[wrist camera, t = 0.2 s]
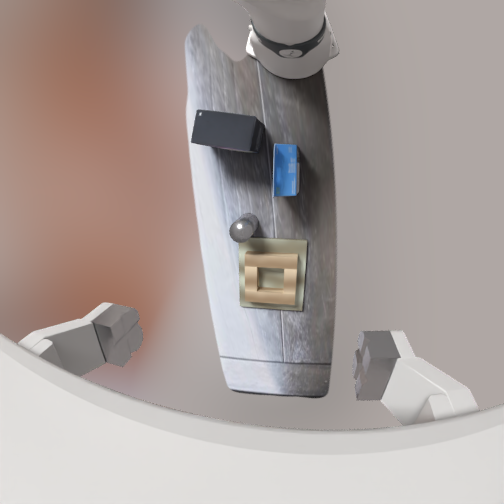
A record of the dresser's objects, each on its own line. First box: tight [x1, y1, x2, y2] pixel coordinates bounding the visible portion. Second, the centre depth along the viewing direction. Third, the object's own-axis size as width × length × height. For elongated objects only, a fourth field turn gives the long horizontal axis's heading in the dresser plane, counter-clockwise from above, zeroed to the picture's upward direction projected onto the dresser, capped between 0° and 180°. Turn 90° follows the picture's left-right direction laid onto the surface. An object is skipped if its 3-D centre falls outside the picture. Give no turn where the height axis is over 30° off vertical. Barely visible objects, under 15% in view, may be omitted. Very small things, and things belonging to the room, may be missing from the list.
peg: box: [229, 213, 259, 243], centre depth 53 cm, size 4×4×8 cm
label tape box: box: [273, 143, 299, 198], centre depth 46 cm, size 9×4×12 cm, turn 0°
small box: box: [191, 109, 264, 153], centre depth 47 cm, size 11×6×10 cm, turn 79°
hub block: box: [239, 237, 307, 311], centre depth 58 cm, size 16×14×3 cm
